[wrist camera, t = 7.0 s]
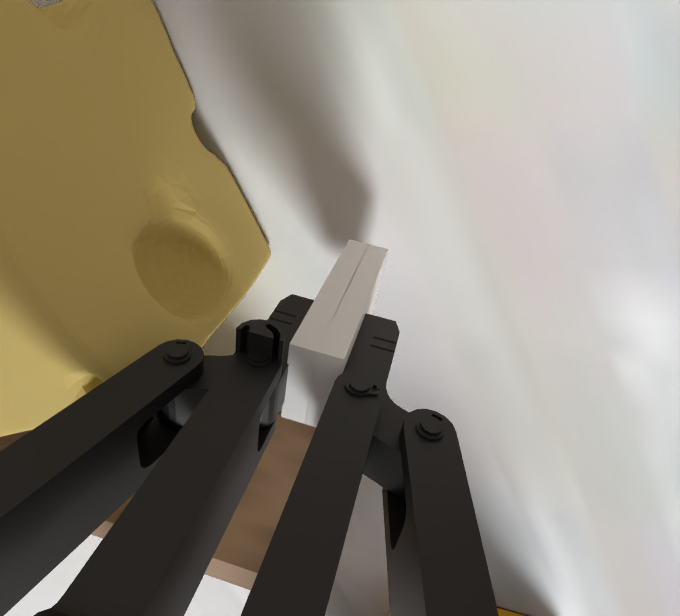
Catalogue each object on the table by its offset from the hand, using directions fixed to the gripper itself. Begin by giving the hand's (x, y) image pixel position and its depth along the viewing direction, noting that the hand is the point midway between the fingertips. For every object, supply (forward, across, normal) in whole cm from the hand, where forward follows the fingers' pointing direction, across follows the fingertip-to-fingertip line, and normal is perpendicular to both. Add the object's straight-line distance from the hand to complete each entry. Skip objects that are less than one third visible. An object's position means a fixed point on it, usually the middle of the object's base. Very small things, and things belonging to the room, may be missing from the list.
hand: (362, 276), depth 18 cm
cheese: (+2, -11, +1) cm, 11 cm away
